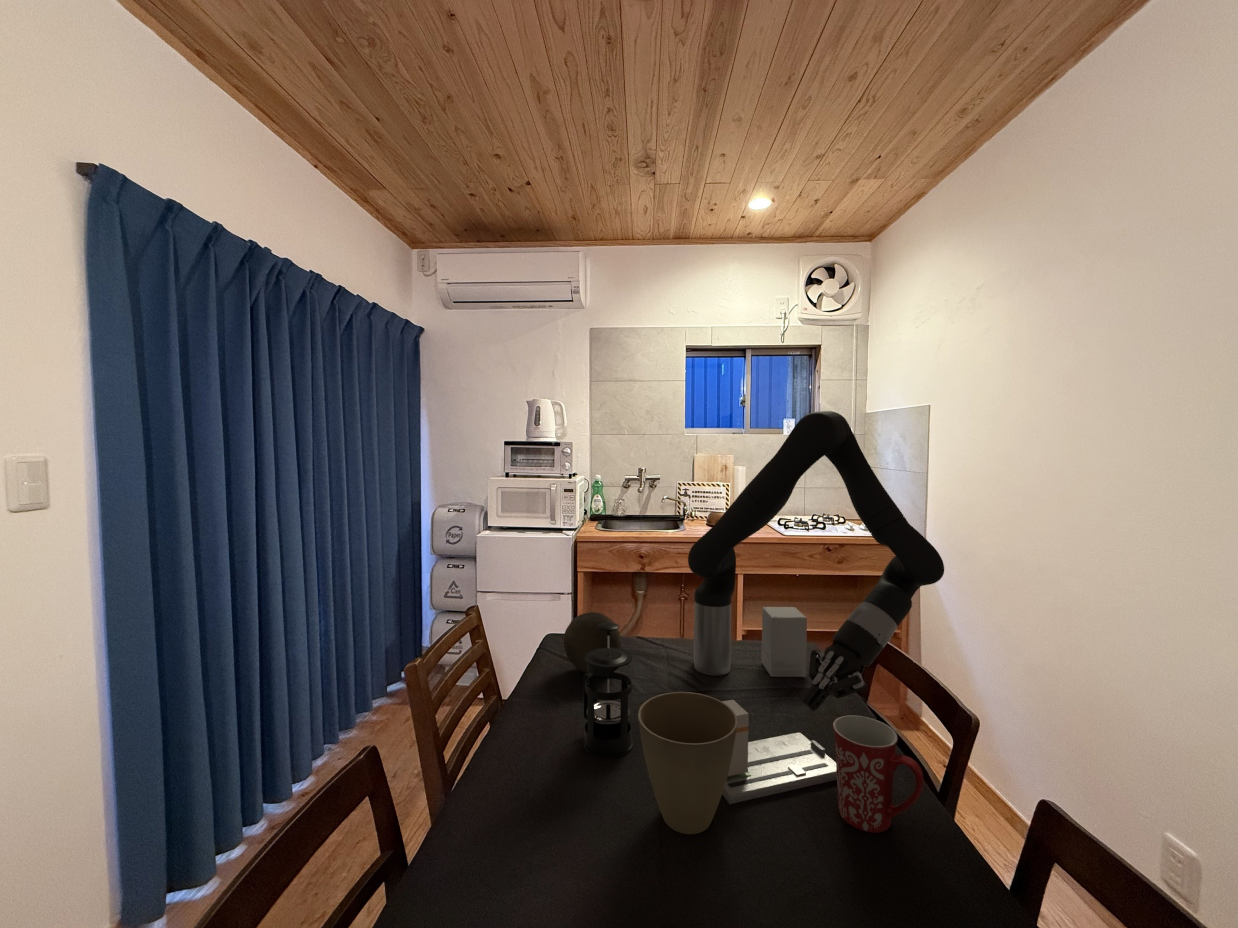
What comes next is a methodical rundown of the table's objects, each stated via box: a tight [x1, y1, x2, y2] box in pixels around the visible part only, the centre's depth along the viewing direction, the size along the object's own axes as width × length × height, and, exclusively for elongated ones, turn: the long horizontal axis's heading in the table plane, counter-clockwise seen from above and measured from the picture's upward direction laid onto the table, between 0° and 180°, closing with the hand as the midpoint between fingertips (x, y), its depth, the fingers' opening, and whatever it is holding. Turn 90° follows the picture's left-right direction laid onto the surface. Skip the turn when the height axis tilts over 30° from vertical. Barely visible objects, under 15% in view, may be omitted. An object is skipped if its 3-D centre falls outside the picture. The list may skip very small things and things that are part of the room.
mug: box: [832, 714, 925, 834], centre depth 77 cm, size 13×9×14 cm
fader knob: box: [722, 699, 750, 776], centre depth 88 cm, size 5×4×10 cm
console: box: [722, 732, 837, 805], centre depth 90 cm, size 12×22×2 cm, turn 107°
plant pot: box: [637, 691, 738, 835], centre depth 78 cm, size 15×15×16 cm
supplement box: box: [761, 606, 808, 678], centre depth 131 cm, size 9×9×15 cm
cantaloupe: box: [563, 611, 622, 674], centre depth 128 cm, size 14×14×15 cm
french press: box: [583, 622, 634, 760], centre depth 98 cm, size 12×9×23 cm
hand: (807, 706), depth 93 cm, fingers closed
